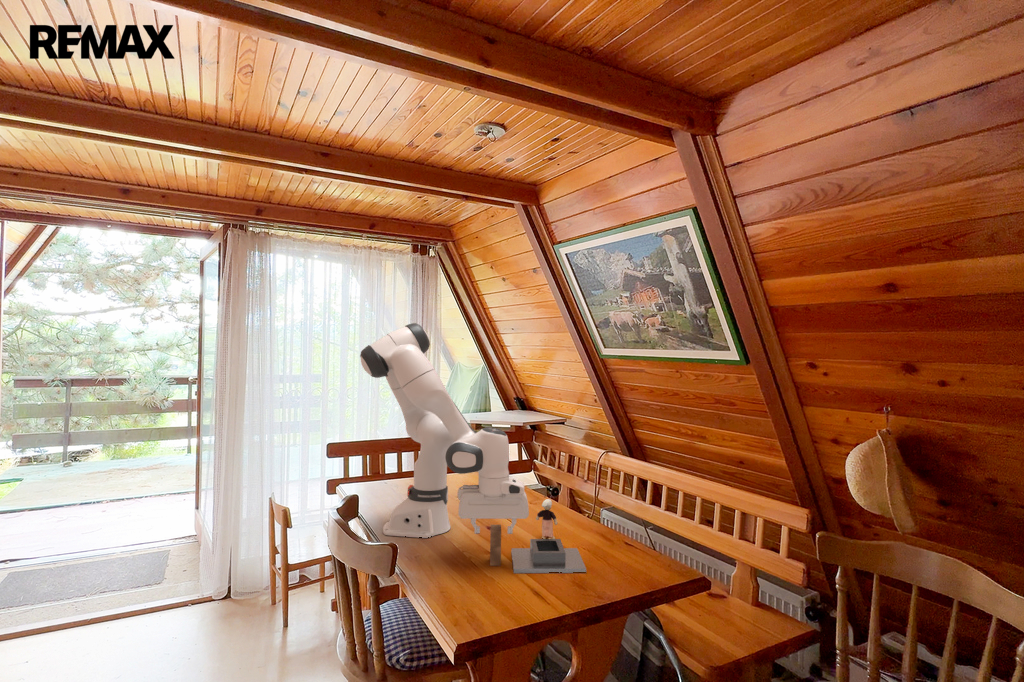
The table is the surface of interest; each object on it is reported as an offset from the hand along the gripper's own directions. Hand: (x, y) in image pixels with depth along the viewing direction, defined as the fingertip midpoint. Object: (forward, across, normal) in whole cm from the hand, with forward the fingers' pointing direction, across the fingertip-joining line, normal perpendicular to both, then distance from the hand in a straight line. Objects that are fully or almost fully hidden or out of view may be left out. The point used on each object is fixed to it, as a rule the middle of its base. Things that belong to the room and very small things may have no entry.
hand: (493, 533), depth 154 cm
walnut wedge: (+9, 0, +1) cm, 9 cm away
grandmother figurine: (+9, +17, +21) cm, 28 cm away
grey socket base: (+9, +16, +1) cm, 18 cm away
